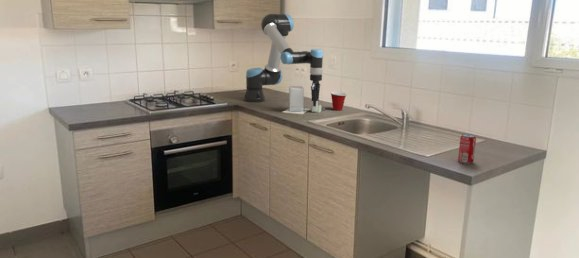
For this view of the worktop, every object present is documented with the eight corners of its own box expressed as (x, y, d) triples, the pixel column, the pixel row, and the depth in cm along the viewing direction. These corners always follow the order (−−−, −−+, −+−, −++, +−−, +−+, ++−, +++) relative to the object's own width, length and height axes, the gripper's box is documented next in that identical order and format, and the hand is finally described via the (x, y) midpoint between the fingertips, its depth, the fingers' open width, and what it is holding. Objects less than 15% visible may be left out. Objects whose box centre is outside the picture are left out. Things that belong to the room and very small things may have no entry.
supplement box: (303, 111, 283) (304, 88, 279) (289, 111, 282) (290, 88, 278) (302, 108, 292) (302, 86, 288) (288, 108, 291) (289, 86, 287)
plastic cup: (345, 112, 286) (346, 94, 283) (328, 111, 288) (329, 93, 286) (346, 109, 297) (347, 91, 294) (330, 108, 299) (331, 91, 296)
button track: (313, 110, 293) (313, 106, 292) (324, 111, 290) (324, 107, 290) (306, 114, 280) (306, 110, 279) (318, 115, 277) (318, 111, 277)
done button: (313, 110, 289) (314, 104, 288) (321, 111, 288) (321, 104, 287) (311, 111, 285) (311, 105, 284) (319, 112, 283) (319, 106, 282)
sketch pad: (291, 108, 296) (291, 107, 296) (309, 110, 292) (309, 108, 292) (282, 113, 282) (282, 111, 282) (301, 115, 278) (301, 113, 277)
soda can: (455, 162, 189) (458, 135, 186) (460, 158, 194) (463, 132, 191) (470, 165, 186) (473, 137, 183) (475, 161, 190) (478, 134, 187)
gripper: (318, 75, 270) (317, 113, 276) (324, 73, 282) (323, 109, 288) (307, 74, 273) (306, 112, 278) (313, 72, 284) (312, 108, 290)
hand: (314, 110), depth 283 cm, fingers closed
